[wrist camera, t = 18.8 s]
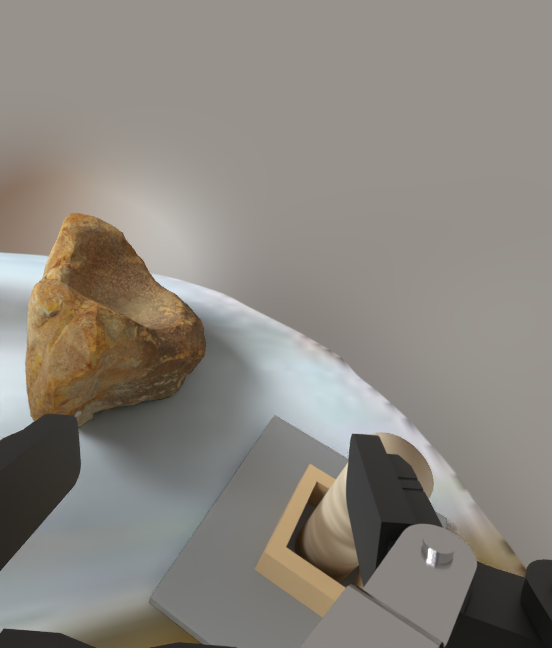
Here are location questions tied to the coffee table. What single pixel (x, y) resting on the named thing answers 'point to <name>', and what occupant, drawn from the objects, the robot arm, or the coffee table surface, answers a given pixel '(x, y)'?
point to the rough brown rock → (104, 327)
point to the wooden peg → (333, 519)
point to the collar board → (258, 550)
